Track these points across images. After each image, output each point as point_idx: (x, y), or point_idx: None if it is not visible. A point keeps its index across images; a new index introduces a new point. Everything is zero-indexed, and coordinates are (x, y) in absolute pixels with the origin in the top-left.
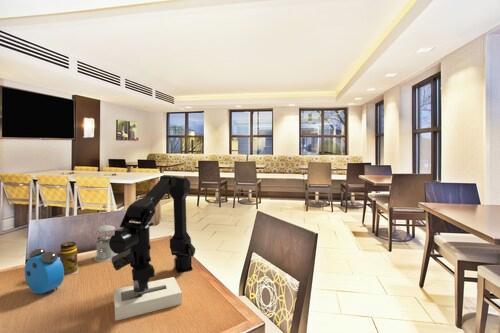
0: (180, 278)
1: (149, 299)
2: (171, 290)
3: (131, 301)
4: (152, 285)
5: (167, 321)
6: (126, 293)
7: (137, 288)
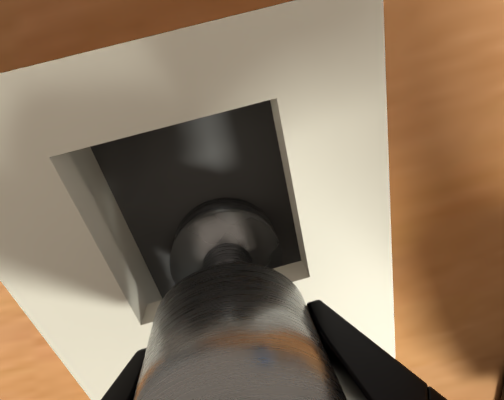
0: (440, 379)
1: (88, 381)
2: None
3: (48, 257)
4: None
5: (18, 395)
6: (280, 152)
7: (146, 352)
